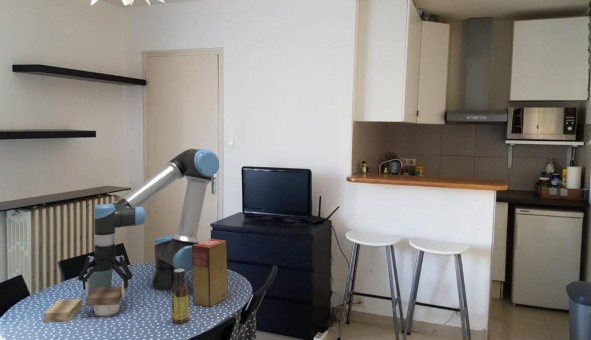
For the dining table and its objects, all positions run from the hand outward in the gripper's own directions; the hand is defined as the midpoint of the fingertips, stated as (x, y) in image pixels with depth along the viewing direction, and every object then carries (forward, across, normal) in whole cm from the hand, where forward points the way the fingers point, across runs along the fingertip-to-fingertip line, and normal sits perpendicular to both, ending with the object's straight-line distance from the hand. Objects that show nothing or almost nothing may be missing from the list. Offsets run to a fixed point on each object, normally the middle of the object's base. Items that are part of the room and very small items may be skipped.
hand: (105, 296), depth 180 cm
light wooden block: (+6, +16, +1) cm, 17 cm away
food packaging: (+6, -40, -8) cm, 42 cm away
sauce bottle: (+6, -30, +12) cm, 33 cm away
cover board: (+1, 0, 0) cm, 1 cm away
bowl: (+6, 0, 0) cm, 6 cm away
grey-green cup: (+6, +8, -19) cm, 22 cm away
